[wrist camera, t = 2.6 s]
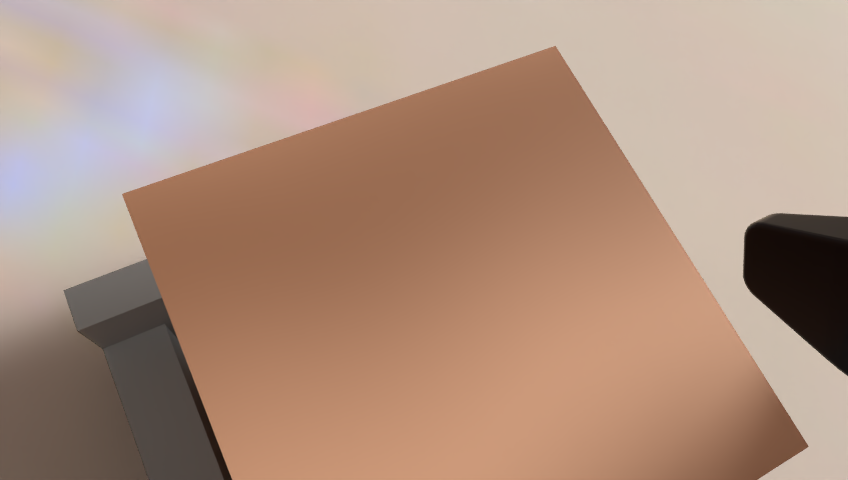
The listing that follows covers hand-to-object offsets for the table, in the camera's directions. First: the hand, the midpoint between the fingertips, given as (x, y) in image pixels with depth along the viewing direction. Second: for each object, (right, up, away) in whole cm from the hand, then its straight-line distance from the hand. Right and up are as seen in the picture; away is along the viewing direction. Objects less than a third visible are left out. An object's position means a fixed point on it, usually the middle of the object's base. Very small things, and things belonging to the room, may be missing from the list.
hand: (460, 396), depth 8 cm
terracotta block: (-2, -3, +8) cm, 8 cm away
